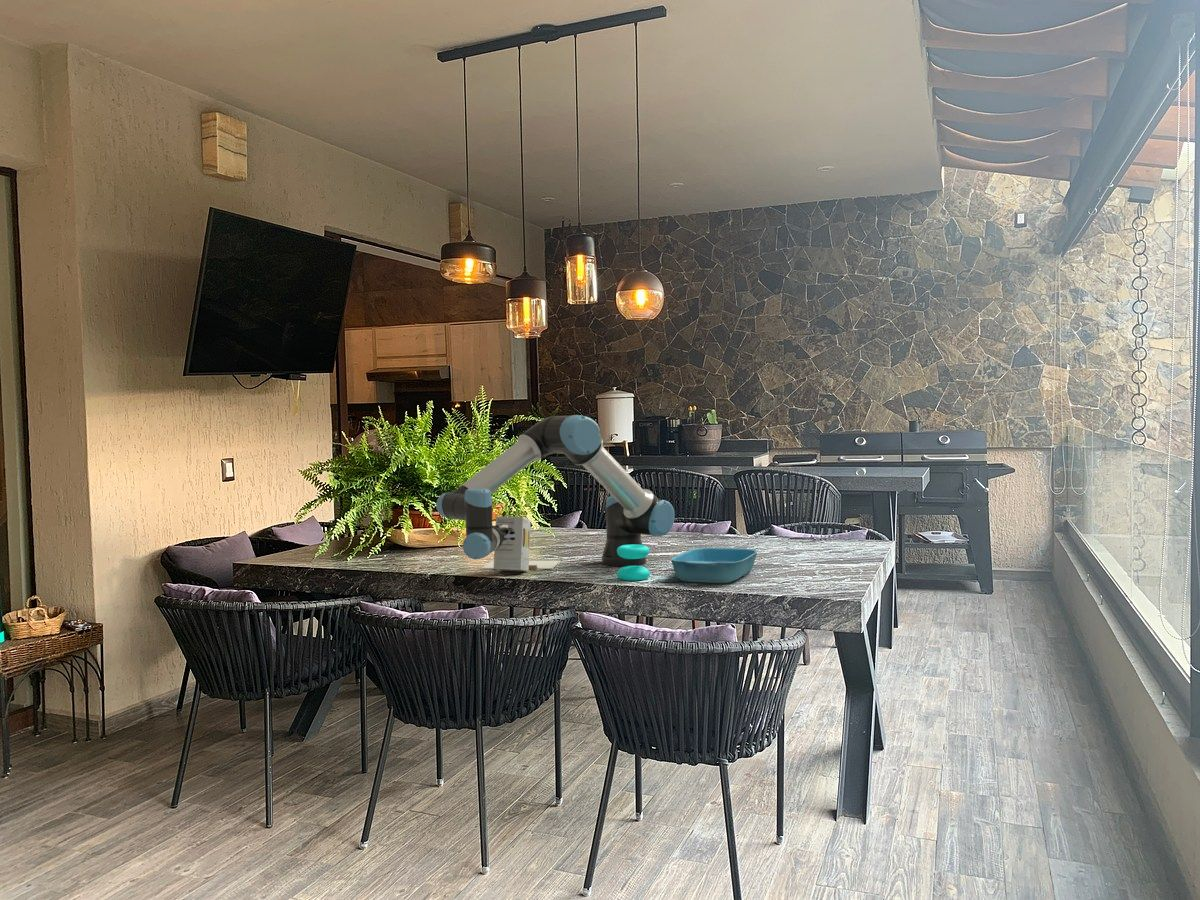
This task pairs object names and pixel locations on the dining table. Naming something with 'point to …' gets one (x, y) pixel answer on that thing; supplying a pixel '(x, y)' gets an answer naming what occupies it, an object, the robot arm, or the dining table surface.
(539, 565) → the mat
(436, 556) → the dining table surface
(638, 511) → the robot arm
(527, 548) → the supplement box
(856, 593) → the dining table surface
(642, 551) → the donuts
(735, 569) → the casserole dish
